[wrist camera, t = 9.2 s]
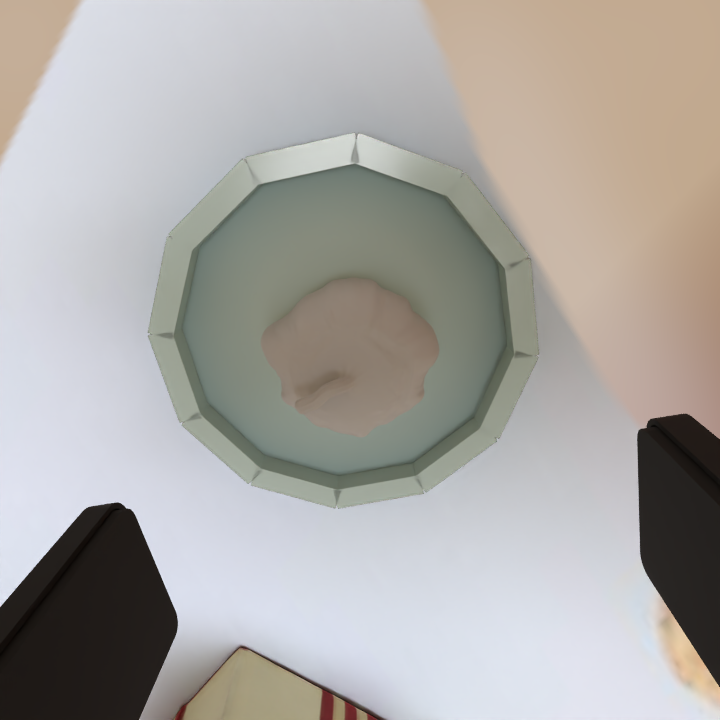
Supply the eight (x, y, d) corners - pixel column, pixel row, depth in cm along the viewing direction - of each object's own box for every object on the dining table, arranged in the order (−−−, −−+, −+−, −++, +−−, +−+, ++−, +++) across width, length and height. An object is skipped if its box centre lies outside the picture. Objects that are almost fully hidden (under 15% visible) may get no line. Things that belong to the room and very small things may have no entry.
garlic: (278, 401, 21) (254, 473, 16) (268, 267, 19) (238, 303, 14) (426, 399, 21) (448, 471, 16) (432, 265, 19) (457, 300, 14)
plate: (500, 101, 18) (517, 94, 16) (535, 447, 23) (550, 472, 21) (118, 186, 19) (92, 189, 17) (228, 501, 24) (217, 530, 22)
